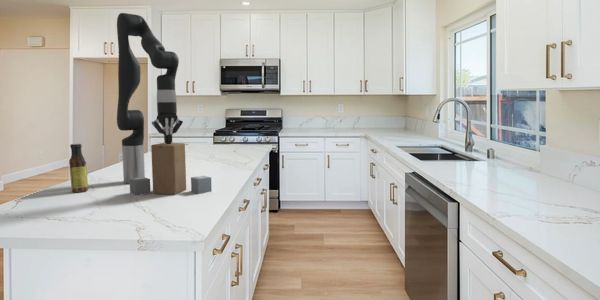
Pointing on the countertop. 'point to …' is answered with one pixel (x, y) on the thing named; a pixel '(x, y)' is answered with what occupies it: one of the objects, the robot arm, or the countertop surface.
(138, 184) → the charcoal marked block
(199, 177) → the slate marked block
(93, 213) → the countertop surface
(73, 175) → the sauce bottle
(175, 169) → the wooden block
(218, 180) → the countertop surface
